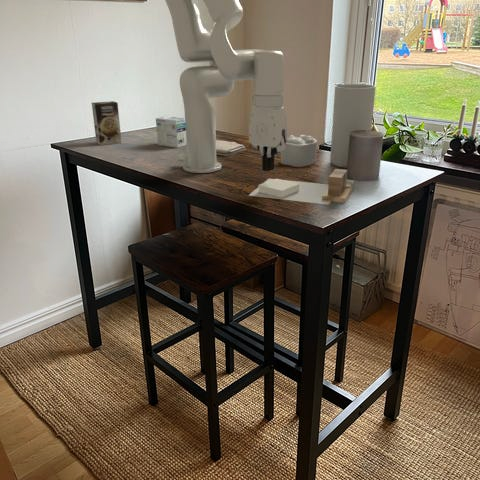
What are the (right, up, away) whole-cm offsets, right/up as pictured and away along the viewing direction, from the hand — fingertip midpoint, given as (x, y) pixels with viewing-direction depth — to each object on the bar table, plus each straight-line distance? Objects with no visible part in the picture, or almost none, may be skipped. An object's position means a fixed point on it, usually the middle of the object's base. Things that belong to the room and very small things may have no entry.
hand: (268, 170), depth 131 cm
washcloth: (-16, +14, +49) cm, 54 cm away
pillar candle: (+29, -1, +13) cm, 32 cm away
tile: (0, -4, +2) cm, 4 cm away
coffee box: (-61, +20, +64) cm, 91 cm away
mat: (+8, -6, +1) cm, 10 cm away
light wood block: (+19, -5, -2) cm, 20 cm away
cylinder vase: (+29, +6, +29) cm, 41 cm away
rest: (+19, -8, -3) cm, 20 cm away
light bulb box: (-35, +18, +59) cm, 71 cm away
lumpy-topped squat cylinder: (+13, +7, +32) cm, 36 cm away
